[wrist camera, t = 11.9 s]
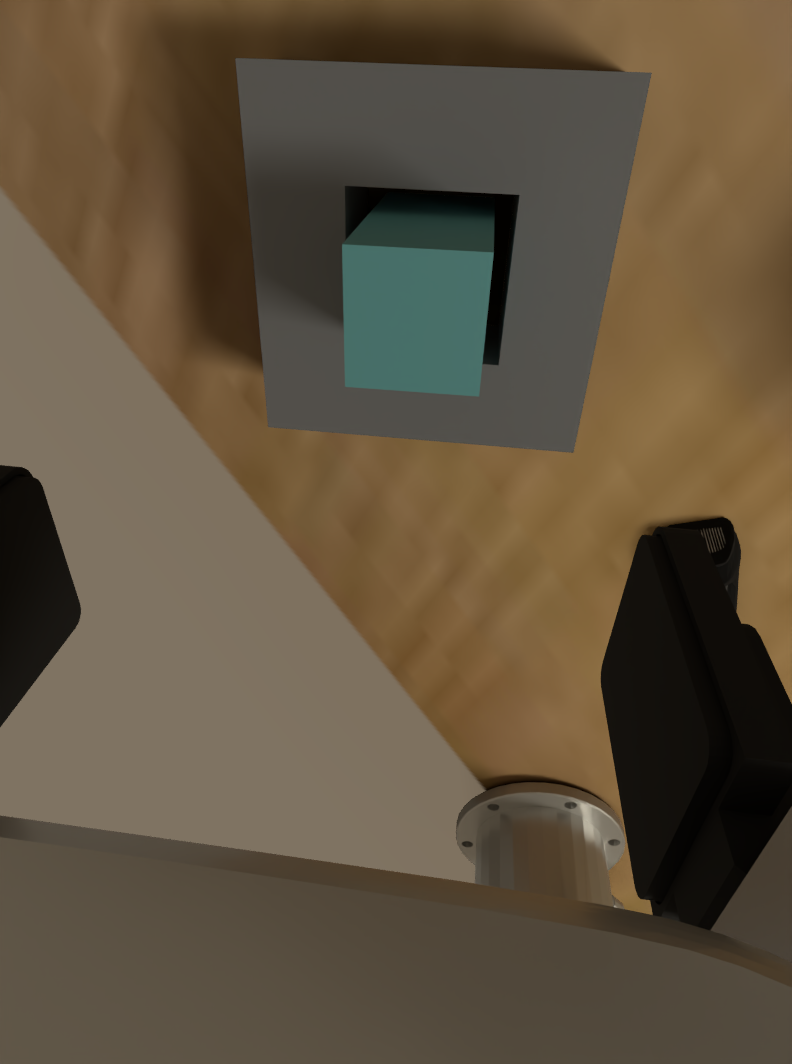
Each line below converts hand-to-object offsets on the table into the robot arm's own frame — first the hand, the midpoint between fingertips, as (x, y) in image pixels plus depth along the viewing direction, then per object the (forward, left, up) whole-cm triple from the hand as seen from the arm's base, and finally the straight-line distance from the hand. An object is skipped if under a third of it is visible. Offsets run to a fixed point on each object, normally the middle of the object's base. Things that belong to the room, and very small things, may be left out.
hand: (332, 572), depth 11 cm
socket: (0, 0, -22) cm, 22 cm away
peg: (0, 0, -22) cm, 22 cm away
